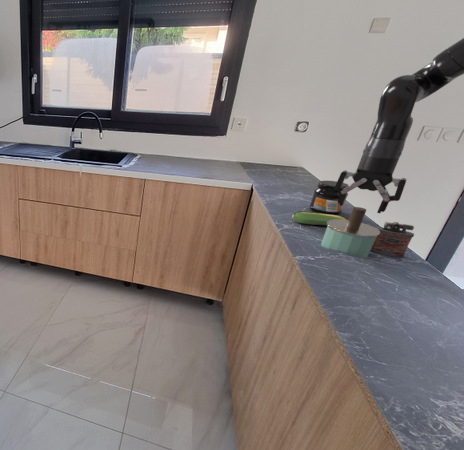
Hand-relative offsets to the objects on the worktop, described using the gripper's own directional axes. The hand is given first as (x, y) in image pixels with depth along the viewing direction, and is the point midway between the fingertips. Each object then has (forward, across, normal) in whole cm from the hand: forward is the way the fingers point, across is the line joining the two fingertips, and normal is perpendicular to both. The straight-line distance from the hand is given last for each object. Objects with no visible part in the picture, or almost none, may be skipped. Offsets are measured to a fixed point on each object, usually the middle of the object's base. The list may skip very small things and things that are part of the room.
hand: (359, 208), depth 93 cm
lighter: (+14, -9, -7) cm, 18 cm away
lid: (+7, 0, 0) cm, 7 cm away
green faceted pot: (+14, 0, 0) cm, 14 cm away
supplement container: (+14, +12, -36) cm, 40 cm away
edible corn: (+14, +9, -19) cm, 25 cm away
